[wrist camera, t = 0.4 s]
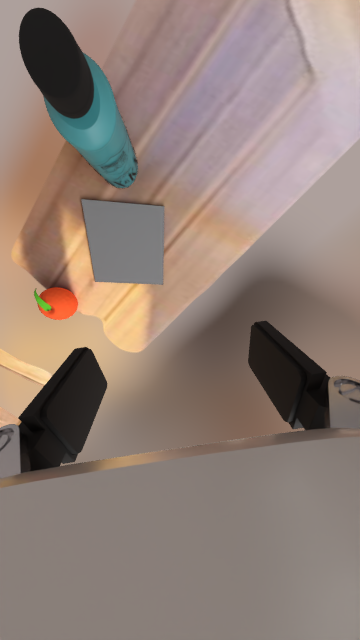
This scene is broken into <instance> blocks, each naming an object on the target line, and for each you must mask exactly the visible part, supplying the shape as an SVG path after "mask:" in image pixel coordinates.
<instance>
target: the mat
mask: <svg viewBox="0 0 360 640" xmlns="http://www.w3.org/2000/svg"><path fill="white" fill-rule="evenodd" d="M81 200H82V206H83V212H84V218H85V224H86V230H87V236H88V242H89V247H90V253H91V259H92V265H93V271H94V277H95V282H115V283H138V284H161V285H163V256H164V206H153V205H142V204H130V203H119V202H108V201H96V200H85V199H81Z"/></svg>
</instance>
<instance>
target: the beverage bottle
mask: <svg viewBox="0 0 360 640" xmlns="http://www.w3.org/2000/svg"><path fill="white" fill-rule="evenodd" d="M19 44H20V50H21V54H22V58H23V61H24V64H25V66H26V68H27V70H28V72H29V74H30V76H31V78H32V79H33V81H34V82H35V84H36V85H37V86H38V88H39V89H40V91H41V92H42V94H43V96H44V101H45V104H46V108H47V111H48V113H49V116H50V118H51V120H52V122H53V124H54V125H55V127H56V129H57V130H58V131H59V133H60V134H61V135H62V136H63V137H64V138H65V139H66V140H67V141H68V142H69V143H70V144H72V145H73V146H74V147H75V148H76V149H77V150H78V151H79V152H80V154H81V155H82V156H83V157H84V158H85V159H86V161H88V162H89V165H90V164H91V165H92V166H93V167H94V168H95V169H96V170H97V171H98V172H99V173H100V175H101V176H103V177H104V178H105V179H106V180H105V181H106V182H107V181H108V182H109V183H110V184H111V185H113V186H115V187H118V188H124V189H125V188H126V187H127V188H128V186H130V185H131V184H132V183H133V182H135V181H134V180H135V178H137V177H136V176H137V172H138V171H137V170H138V166H137V162H138V161H137V160H136V156H135V154H136V153H135V154H134V152H135V151H133V150H134V148H132V145H131V143H132V142H130V140H131V139H129V136H128V134H127V130H126V128H125V127H126V126H124V123H123V121H122V118H121V115H120V113H119V110H118V108H117V105H116V102H115V98H114V95H113V92H112V89H111V86H110V84H109V82H108V80H107V78H106V76H105V74H104V73H103V71H102V70H101V68H100V67H99V66H98V65H97V64H96V63H95V61H94V60H92V59H91V58H90V57H89V56H87V55H86V54H84V53H83V52H82V51H81V49H80V47H79V46H78V44H77V43H76V41H75V39H74V37H73V35H72V34H71V32H70V30H69V29H68V28H67V26H66V25H65V24H64V23H63V22H62V20H61V19H60V18H59V17H57V16H56V15H55V14H54V13H52V12H51V11H49V10H46V9H44V8H35V9H31V10H30V11H29V12H27V13H26V14H25V16H24V17H23V20H22V22H21V25H20V31H19ZM95 169H94V170H95ZM96 170H95V171H96ZM97 171H96V172H97Z"/></svg>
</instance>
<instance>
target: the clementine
mask: <svg viewBox="0 0 360 640" xmlns="http://www.w3.org/2000/svg"><path fill="white" fill-rule="evenodd" d="M34 296H35V298H36V301H37V302H38V307H39V310H40V311H41V313H43V314H44V315H45V316H46V317H49V318H51V319H55V320H62V319H67V318H69V317H70V316H72V315H73V314H74V313H75V312H76V310H77V306H78V302H77V299H76V297H75V296H74V294H73V293H71V292H70V291H69V290H67V289H64V288H59V287H54V288H49V289H47V290H45V291H44V292H42V293H41V294H40V296H38V295H37V293H36V290H35V291H34Z"/></svg>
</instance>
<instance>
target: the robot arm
mask: <svg viewBox="0 0 360 640" xmlns="http://www.w3.org/2000/svg"><path fill="white" fill-rule="evenodd" d="M248 363H249V366H250V368H251V369H252V371H253V372H254V374H255V376H256V377H257V379H258V380H259V382H260V384H261V385H262V387H263V388H264V390H265V391H266V393H267V395H268V396H269V398H270V399H271V401H272V403H273V404H274V406H275V407H276V409H277V410H278V412H279V414H280V415H281V416H282V418H283V420H284V421H286V422H289V424H290V425H291V427H292V429H298V428H304V429H305V430H304V431H297V432H289V433H280V434H272V435H265V436H258V437H251V438H244V439H237V440H231V441H224V442H216V443H209V444H203V445H197V446H189V447H182V448H176V449H169V450H162V451H156V452H149V453H142V454H136V455H130V456H123V457H116V458H110V459H103V460H97V461H91V462H84V463H78V464H71V465H65V466H60V464H61V462H62V463H63V464H64V463H70V462H75V460H76V457H77V455H78V453H80V452H81V450H82V449H83V446H84V444H85V441H86V439H87V436H88V434H89V431H90V429H91V426H92V424H93V421H94V419H95V416H96V414H97V411H98V409H99V406H100V404H101V401H102V398H103V396H104V393H105V391H106V388H107V381H106V379H105V377H104V375H103V373H102V371H101V369H100V367H99V364H98V362H97V360H96V358H95V356H94V354H93V352H92V350H91V349H88V348H87V347H84V348H77V349H74V350H73V352H72V353H71V354H70V355H69V357H68V358H67V359H66V360H65V362H64V363H63V364H62V365H61V366H60V368H59V369H58V370H57V371H56V373H55V374H54V375H53V376H52V377H51V379H50V380H49V381H48V382H47V383H46V385H45V386H44V387H43V388H42V390H41V391H40V392H39V393H38V394H37V396H36V397H35V398H34V399H33V401H32V402H31V403H30V404H29V405H28V407H27V408H26V409H25V410H24V411H23V413H22V414H21V415H20V416H19V419H20V420H21V421H22V422H21V423H20V425H19V426H18V425H15V424H9V425H6V426H3V427H1V428H0V640H360V380H357V379H354V378H351V377H347V376H335V377H332V378H330V377H328V375H326V371H324V370H323V369H322V368H321V367H320V366H319V365H317V364H316V363H315V362H314V361H313V360H312V359H310V358H309V357H308V356H307V355H306V354H305V353H303V352H302V351H301V350H300V349H299V348H298V347H296V346H295V345H294V344H293V343H292V342H290V341H289V340H288V339H287V338H286V337H285V336H283V335H282V334H281V333H280V332H279V331H278V330H276V329H275V328H274V327H273V326H272V325H271V324H269V323H268V322H267V321H261V322H255V323H254V325H252V326H251V336H250V347H249V358H248Z"/></svg>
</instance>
